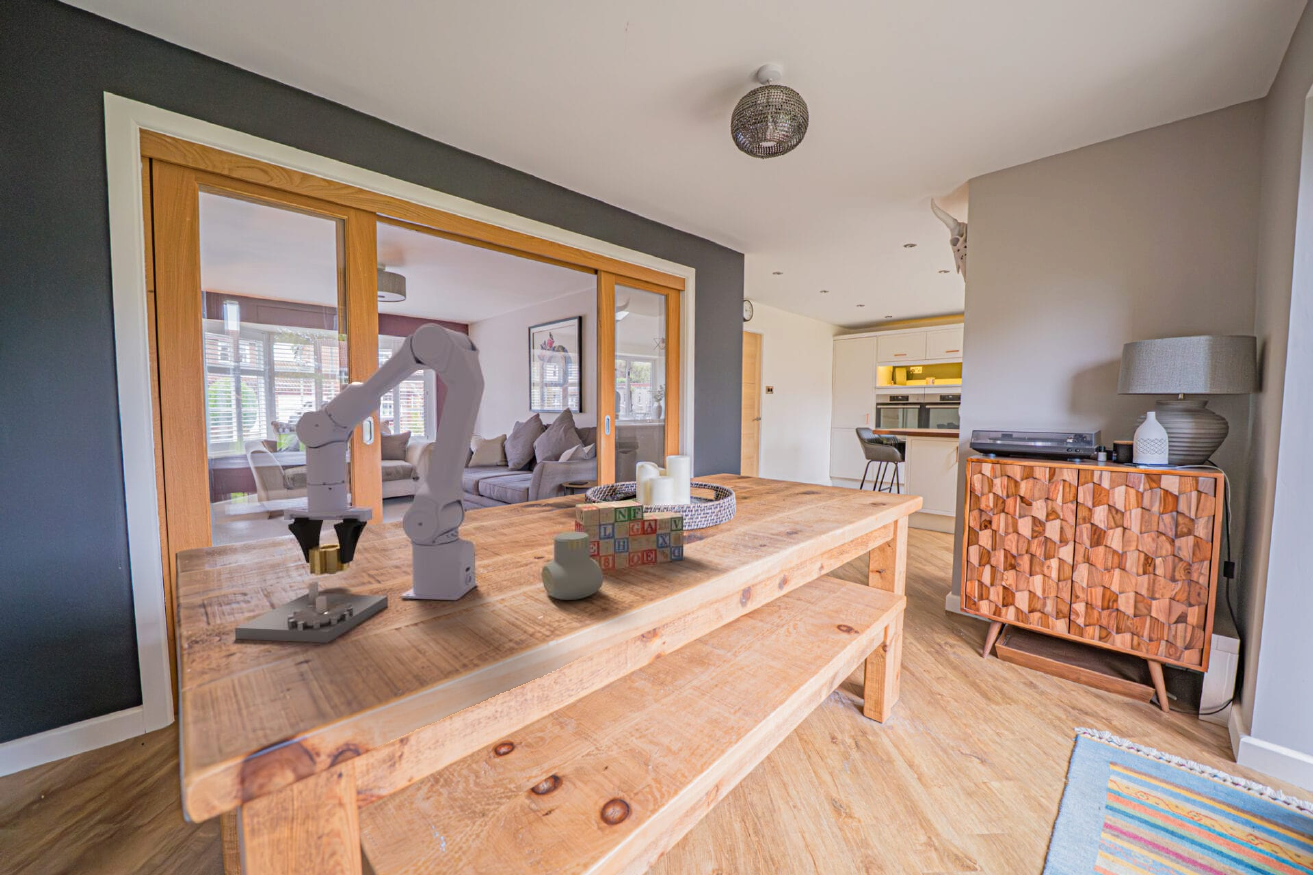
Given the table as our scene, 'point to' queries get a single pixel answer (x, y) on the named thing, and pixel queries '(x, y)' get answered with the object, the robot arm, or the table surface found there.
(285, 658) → the table surface
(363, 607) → the gear board
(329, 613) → the gear
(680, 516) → the stack of blocks
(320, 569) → the brass gear
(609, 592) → the table surface
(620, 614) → the table surface
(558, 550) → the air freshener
